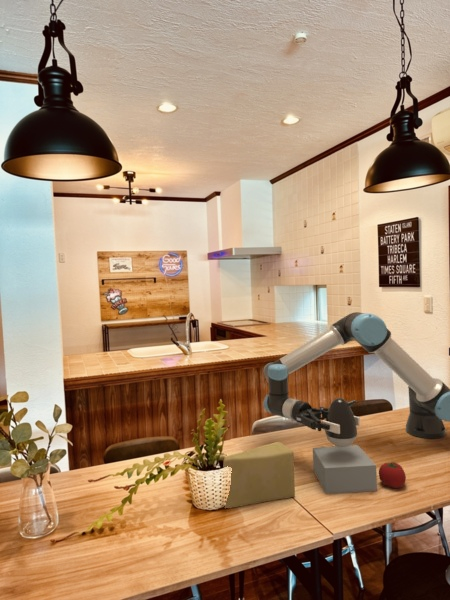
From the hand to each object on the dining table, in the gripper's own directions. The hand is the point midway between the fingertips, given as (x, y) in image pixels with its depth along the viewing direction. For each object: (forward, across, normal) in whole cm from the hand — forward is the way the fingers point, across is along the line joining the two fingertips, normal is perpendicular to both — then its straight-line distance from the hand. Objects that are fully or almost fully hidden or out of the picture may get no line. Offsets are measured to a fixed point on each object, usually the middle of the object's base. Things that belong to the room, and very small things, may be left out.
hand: (349, 425), depth 127 cm
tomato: (+9, -9, -19) cm, 23 cm away
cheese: (-14, +29, -19) cm, 37 cm away
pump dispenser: (-3, 0, -7) cm, 8 cm away
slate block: (-3, 0, -19) cm, 19 cm away
